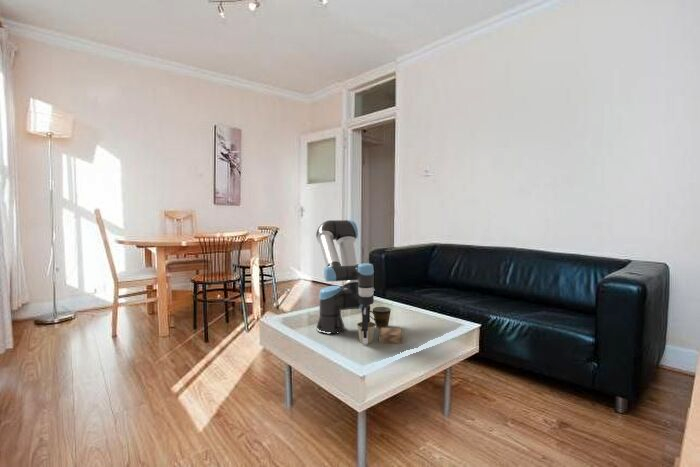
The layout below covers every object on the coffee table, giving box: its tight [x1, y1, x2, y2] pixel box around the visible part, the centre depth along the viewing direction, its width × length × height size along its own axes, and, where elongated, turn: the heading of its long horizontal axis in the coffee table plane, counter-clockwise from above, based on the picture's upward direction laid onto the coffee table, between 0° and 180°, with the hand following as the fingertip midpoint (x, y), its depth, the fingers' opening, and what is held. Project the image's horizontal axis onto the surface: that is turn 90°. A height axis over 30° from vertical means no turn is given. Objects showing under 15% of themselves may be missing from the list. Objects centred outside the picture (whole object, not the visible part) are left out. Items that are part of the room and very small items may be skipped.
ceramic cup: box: [370, 306, 392, 329], centre depth 199 cm, size 13×10×10 cm
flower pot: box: [356, 321, 376, 344], centre depth 177 cm, size 9×9×9 cm
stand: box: [378, 327, 403, 344], centre depth 180 cm, size 11×11×4 cm
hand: (366, 340), depth 177 cm, fingers closed on flower pot, 8 cm apart
